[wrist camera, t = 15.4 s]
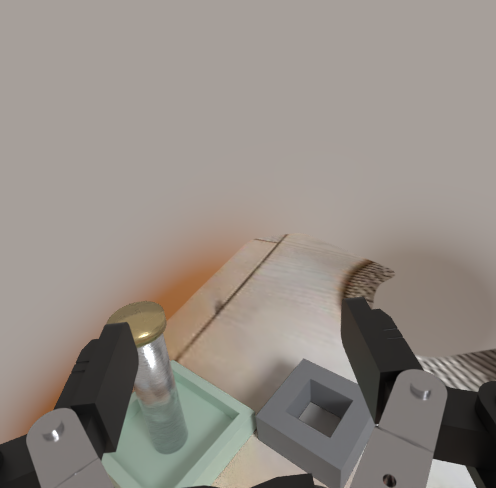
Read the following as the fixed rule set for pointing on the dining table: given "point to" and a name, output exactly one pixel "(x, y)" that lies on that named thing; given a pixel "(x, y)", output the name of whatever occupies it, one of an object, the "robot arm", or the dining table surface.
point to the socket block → (309, 439)
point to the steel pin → (155, 376)
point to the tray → (196, 447)
